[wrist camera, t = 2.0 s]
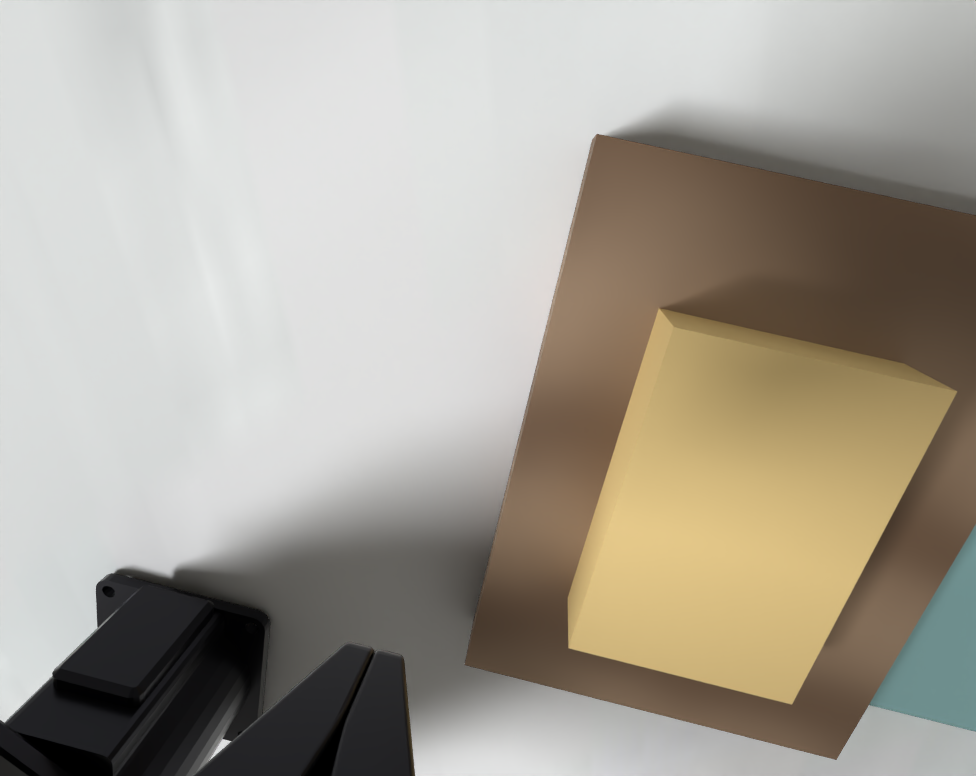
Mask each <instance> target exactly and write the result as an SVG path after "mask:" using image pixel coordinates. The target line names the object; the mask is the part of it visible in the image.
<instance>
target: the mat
mask: <svg viewBox="0 0 976 776" xmlns="http://www.w3.org/2000/svg"><path fill="white" fill-rule="evenodd" d="M869 705H872V706H876V707H880V708H884V709H888V710H892V711H896V712H900V713H904V714H908V715H912V716H916V717H920V718H924V719H928V720H932V721H936V722H939V723H943V724H947V725H951V726H955V727H959V728H963V729H967V730H971V731H975V732H976V525H975V526H974V528H973V530H972V531H971V533H970V535H969V537H968V538H967V540H966V542H965V543H964V545H963V547H962V548H961V550H960V552H959V553H958V555H957V557H956V558H955V560H954V562H953V564H952V565H951V567H950V569H949V570H948V572H947V574H946V575H945V577H944V579H943V580H942V582H941V584H940V585H939V587H938V589H937V591H936V592H935V594H934V596H933V597H932V599H931V601H930V602H929V604H928V606H927V607H926V609H925V611H924V612H923V614H922V616H921V618H920V619H919V621H918V623H917V624H916V626H915V628H914V629H913V631H912V633H911V634H910V636H909V638H908V639H907V641H906V643H905V645H904V646H903V648H902V650H901V651H900V653H899V655H898V656H897V658H896V660H895V661H894V663H893V665H892V666H891V668H890V670H889V672H888V673H887V675H886V677H885V678H884V680H883V682H882V683H881V685H880V687H879V688H878V690H877V692H876V693H875V695H874V697H873V699H872V700H871V702H870V704H869Z"/></svg>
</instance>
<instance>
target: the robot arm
mask: <svg viewBox="0 0 976 776" xmlns="http://www.w3.org/2000/svg"><path fill="white" fill-rule="evenodd" d="M96 602H97V625H98V628H97V629H96V630H95V631H94V632H93V633H92V634H91V635H90V636H89V637H88V638H87V639H86V640H85V641H84V642H82V643H81V644H80V645H79V646H78V647H77V648H76V649H75V650H74V651H73V652H72V653H71V654H70V655H69V656H68V657H67V658H66V659H65V660H64V661H63V662H62V663H61V664H60V665H59V666H58V667H56V668H55V670H54V671H53V673H52V674H53V676H52V677H51V678H50V679H49V680H48V681H47V682H46V683H45V684H44V685H43V686H42V687H41V688H40V689H39V690H38V691H37V692H36V693H34V694H33V695H32V696H31V697H30V698H29V699H28V700H27V701H26V702H25V703H24V704H23V705H22V706H21V707H20V708H19V709H18V710H17V711H16V712H15V713H14V714H13V715H12V716H11V717H10V718H9V719H8V720H7V721H6V722H5V723H4V722H2V721H1V720H0V776H415V770H414V759H413V749H412V738H411V728H410V717H409V707H408V696H407V686H406V675H405V665H404V659H403V656H402V655H400V654H396V653H392V652H388V651H385V650H377V651H376V652H375V653H374V650H373V648H372V647H369V646H365V645H361V644H357V643H353V642H348V643H345V644H344V645H343V646H341V647H340V648H339V649H338V650H337V651H336V652H334V653H333V654H332V655H331V656H330V657H329V658H328V659H326V660H325V661H324V662H323V663H322V664H321V665H319V666H318V667H317V668H316V669H315V670H314V671H312V672H311V673H310V674H309V675H308V676H307V677H306V678H304V679H303V680H302V681H301V682H300V683H299V684H297V685H296V686H295V687H294V688H293V689H292V690H291V691H289V692H288V693H287V694H286V695H285V696H284V697H282V698H281V699H280V700H279V701H278V702H277V703H276V704H274V705H273V706H272V707H271V708H270V709H269V710H267V711H266V712H265V713H264V714H263V715H262V710H263V699H264V688H265V677H266V666H267V655H268V644H269V632H270V619H269V618H268V616H267V615H266V614H265V613H263V612H261V611H259V610H256V609H252V608H248V607H244V606H240V605H236V604H232V603H228V602H224V601H221V600H217V599H213V598H209V597H205V596H201V595H197V594H193V593H189V592H185V591H181V590H177V589H173V588H170V587H166V586H162V585H158V584H154V583H150V582H146V581H142V580H138V579H134V578H130V577H126V576H123V575H119V574H112V573H111V574H108V575H106V576H105V577H104V578H103V579H102V580H101V581H100V582H99V583H98V584H97V585H96ZM253 623H254V624H256V625H257V626H256V625H254V624H253ZM222 739H225V740H229V741H232V742H230V743H229V744H228V745H227V746H226V747H225V748H224V749H222V750H221V751H220V752H219V753H218V754H217V755H215V756H214V757H213V758H212V759H211V760H210V758H211V757H212V755H213V753H214V752H215V750H216V748H217V747H218V745H219V743H220V742H221V740H222ZM209 760H210V761H209Z"/></svg>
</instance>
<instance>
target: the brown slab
mask: <svg viewBox="0 0 976 776" xmlns="http://www.w3.org/2000/svg"><path fill="white" fill-rule="evenodd" d="M659 308H661V309H665V310H670V311H674V312H678V313H683V314H687V315H692V316H696V317H701V318H705V319H709V320H714V321H718V322H723V323H727V324H731V325H736V326H740V327H745V328H749V329H753V330H758V331H762V332H767V333H771V334H776V335H780V336H784V337H789V338H793V339H798V340H802V341H806V342H811V343H815V344H820V345H824V346H829V347H833V348H837V349H842V350H846V351H851V352H855V353H859V354H864V355H868V356H873V357H877V358H882V359H886V360H890V361H895V362H899V363H904V364H906V365H908V366H910V367H912V368H913V369H915V370H917V371H919V372H921V373H923V374H925V375H927V376H929V377H931V378H932V379H934V380H936V381H938V382H940V383H942V384H944V385H946V386H948V387H950V388H952V389H953V390H955V391H957V393H956V395H955V397H954V399H953V401H952V403H951V405H950V407H949V408H948V410H947V412H946V414H945V416H944V418H943V420H942V422H941V424H940V426H939V427H938V429H937V431H936V433H935V435H934V437H933V439H932V441H931V443H930V444H929V446H928V448H927V450H926V452H925V454H924V456H923V458H922V460H921V461H920V463H919V465H918V467H917V469H916V471H915V473H914V475H913V477H912V478H911V480H910V482H909V484H908V486H907V488H906V490H905V492H904V494H903V495H902V497H901V499H900V501H899V503H898V505H897V507H896V509H895V511H894V513H893V514H892V516H891V518H890V520H889V522H888V524H887V526H886V528H885V530H884V531H883V533H882V535H881V537H880V539H879V541H878V543H877V545H876V547H875V548H874V550H873V552H872V554H871V556H870V558H869V560H868V562H867V564H866V565H865V567H864V569H863V571H862V573H861V575H860V577H859V579H858V581H857V582H856V584H855V586H854V588H853V590H852V592H851V594H850V596H849V598H848V600H847V601H846V603H845V605H844V607H843V609H842V611H841V613H840V615H839V617H838V618H837V620H836V622H835V624H834V626H833V628H832V630H831V632H830V634H829V635H828V637H827V639H826V641H825V643H824V645H823V647H822V649H821V651H820V652H819V654H818V656H817V658H816V660H815V662H814V664H813V666H812V668H811V669H810V671H809V673H808V675H807V677H806V679H805V681H804V683H803V685H802V687H801V688H800V690H799V692H798V694H797V696H796V698H795V700H794V702H793V704H788V703H784V702H780V701H776V700H772V699H768V698H764V697H760V696H756V695H752V694H748V693H744V692H740V691H736V690H732V689H728V688H724V687H720V686H716V685H712V684H708V683H704V682H701V681H697V680H693V679H689V678H685V677H681V676H677V675H673V674H669V673H665V672H661V671H657V670H653V669H649V668H645V667H641V666H637V665H633V664H629V663H625V662H621V661H617V660H613V659H609V658H605V657H601V656H597V655H593V654H589V653H586V652H582V651H578V650H574V649H570V648H568V595H569V592H570V589H571V586H572V582H573V579H574V576H575V573H576V570H577V567H578V563H579V560H580V557H581V554H582V551H583V547H584V544H585V541H586V538H587V535H588V532H589V528H590V525H591V522H592V519H593V516H594V513H595V509H596V506H597V503H598V500H599V497H600V493H601V490H602V487H603V484H604V481H605V478H606V474H607V471H608V468H609V465H610V462H611V459H612V455H613V452H614V449H615V446H616V443H617V439H618V436H619V433H620V430H621V427H622V424H623V420H624V417H625V414H626V411H627V408H628V405H629V401H630V398H631V395H632V392H633V389H634V385H635V382H636V379H637V376H638V373H639V370H640V366H641V363H642V360H643V357H644V354H645V351H646V347H647V344H648V341H649V338H650V335H651V331H652V328H653V325H654V322H655V319H656V316H657V312H658V309H659ZM975 525H976V215H971V214H967V213H962V212H957V211H953V210H948V209H943V208H939V207H934V206H929V205H925V204H920V203H915V202H911V201H906V200H902V199H897V198H892V197H888V196H883V195H878V194H874V193H869V192H864V191H860V190H855V189H850V188H846V187H841V186H836V185H832V184H827V183H823V182H818V181H813V180H809V179H804V178H799V177H795V176H790V175H785V174H781V173H776V172H771V171H767V170H762V169H757V168H753V167H748V166H744V165H739V164H734V163H730V162H725V161H720V160H716V159H711V158H706V157H702V156H697V155H692V154H688V153H683V152H678V151H674V150H669V149H664V148H660V147H655V146H651V145H646V144H641V143H637V142H632V141H627V140H623V139H618V138H613V137H609V136H604V135H599V134H596V136H595V137H594V138H593V140H592V143H591V147H590V151H589V155H588V159H587V163H586V168H585V172H584V176H583V180H582V184H581V188H580V192H579V196H578V200H577V204H576V208H575V212H574V216H573V220H572V224H571V228H570V232H569V236H568V240H567V244H566V248H565V252H564V256H563V261H562V265H561V269H560V273H559V277H558V281H557V285H556V289H555V293H554V297H553V301H552V305H551V309H550V313H549V317H548V321H547V325H546V329H545V333H544V337H543V341H542V345H541V349H540V353H539V358H538V362H537V366H536V370H535V374H534V378H533V382H532V386H531V390H530V394H529V398H528V402H527V406H526V410H525V414H524V418H523V422H522V426H521V430H520V434H519V438H518V442H517V446H516V450H515V455H514V459H513V463H512V467H511V471H510V475H509V479H508V483H507V487H506V491H505V495H504V499H503V503H502V507H501V511H500V515H499V519H498V523H497V527H496V531H495V535H494V539H493V543H492V547H491V552H490V556H489V560H488V564H487V568H486V572H485V576H484V580H483V584H482V588H481V592H480V596H479V600H478V604H477V608H476V612H475V616H474V620H473V625H472V630H471V635H470V640H469V645H468V650H467V655H466V660H465V665H467V666H471V667H475V668H479V669H483V670H486V671H490V672H494V673H498V674H502V675H506V676H510V677H514V678H518V679H522V680H526V681H530V682H534V683H537V684H541V685H545V686H549V687H553V688H557V689H561V690H565V691H569V692H573V693H577V694H581V695H584V696H588V697H592V698H596V699H600V700H604V701H608V702H612V703H616V704H620V705H624V706H628V707H631V708H635V709H639V710H643V711H647V712H651V713H655V714H659V715H663V716H667V717H671V718H675V719H678V720H682V721H686V722H690V723H694V724H698V725H702V726H706V727H710V728H714V729H718V730H722V731H725V732H729V733H733V734H737V735H741V736H745V737H749V738H753V739H757V740H761V741H765V742H769V743H772V744H776V745H780V746H784V747H788V748H792V749H796V750H800V751H804V752H808V753H812V754H816V755H819V756H823V757H827V758H831V759H835V760H836V759H837V758H838V756H839V754H840V753H841V751H842V749H843V747H844V746H845V744H846V742H847V741H848V739H849V737H850V736H851V734H852V732H853V731H854V729H855V727H856V726H857V724H858V722H859V720H860V719H861V717H862V715H863V714H864V712H865V710H866V709H867V707H868V705H869V704H870V702H871V700H872V699H873V697H874V695H875V693H876V692H877V690H878V688H879V687H880V685H881V683H882V682H883V680H884V678H885V677H886V675H887V673H888V672H889V670H890V668H891V666H892V665H893V663H894V661H895V660H896V658H897V656H898V655H899V653H900V651H901V650H902V648H903V646H904V645H905V643H906V641H907V639H908V638H909V636H910V634H911V633H912V631H913V629H914V628H915V626H916V624H917V623H918V621H919V619H920V618H921V616H922V614H923V612H924V611H925V609H926V607H927V606H928V604H929V602H930V601H931V599H932V597H933V596H934V594H935V592H936V591H937V589H938V587H939V585H940V584H941V582H942V580H943V579H944V577H945V575H946V574H947V572H948V570H949V569H950V567H951V565H952V564H953V562H954V560H955V558H956V557H957V555H958V553H959V552H960V550H961V548H962V547H963V545H964V543H965V542H966V540H967V538H968V537H969V535H970V533H971V531H972V530H973V528H974V526H975Z"/></svg>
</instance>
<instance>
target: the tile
mask: <svg viewBox="0 0 976 776" xmlns="http://www.w3.org/2000/svg"><path fill="white" fill-rule="evenodd" d="M956 393H957V391H955V390H953V389H952V388H950V387H948V386H946V385H944V384H942V383H940V382H938V381H936V380H934V379H932V378H931V377H929V376H927V375H925V374H923V373H921V372H919V371H917V370H915V369H913V368H912V367H910V366H908V365H906V364H904V363H899V362H895V361H890V360H886V359H882V358H877V357H873V356H868V355H864V354H859V353H855V352H851V351H846V350H842V349H837V348H833V347H829V346H824V345H820V344H815V343H811V342H806V341H802V340H798V339H793V338H789V337H784V336H780V335H776V334H771V333H767V332H762V331H758V330H753V329H749V328H745V327H740V326H736V325H731V324H727V323H723V322H718V321H714V320H709V319H705V318H701V317H696V316H692V315H687V314H683V313H678V312H674V311H670V310H665V309H661V308H659V309H658V312H657V316H656V319H655V322H654V325H653V328H652V331H651V335H650V338H649V341H648V344H647V347H646V351H645V354H644V357H643V360H642V363H641V366H640V370H639V373H638V376H637V379H636V382H635V385H634V389H633V392H632V395H631V398H630V401H629V405H628V408H627V411H626V414H625V417H624V420H623V424H622V427H621V430H620V433H619V436H618V439H617V443H616V446H615V449H614V452H613V455H612V459H611V462H610V465H609V468H608V471H607V474H606V478H605V481H604V484H603V487H602V490H601V493H600V497H599V500H598V503H597V506H596V509H595V513H594V516H593V519H592V522H591V525H590V528H589V532H588V535H587V538H586V541H585V544H584V547H583V551H582V554H581V557H580V560H579V563H578V567H577V570H576V573H575V576H574V579H573V582H572V586H571V589H570V592H569V595H568V648H570V649H574V650H578V651H582V652H586V653H589V654H593V655H597V656H601V657H605V658H609V659H613V660H617V661H621V662H625V663H629V664H633V665H637V666H641V667H645V668H649V669H653V670H657V671H661V672H665V673H669V674H673V675H677V676H681V677H685V678H689V679H693V680H697V681H701V682H704V683H708V684H712V685H716V686H720V687H724V688H728V689H732V690H736V691H740V692H744V693H748V694H752V695H756V696H760V697H764V698H768V699H772V700H776V701H780V702H784V703H788V704H793V702H794V700H795V698H796V696H797V694H798V692H799V690H800V688H801V687H802V685H803V683H804V681H805V679H806V677H807V675H808V673H809V671H810V669H811V668H812V666H813V664H814V662H815V660H816V658H817V656H818V654H819V652H820V651H821V649H822V647H823V645H824V643H825V641H826V639H827V637H828V635H829V634H830V632H831V630H832V628H833V626H834V624H835V622H836V620H837V618H838V617H839V615H840V613H841V611H842V609H843V607H844V605H845V603H846V601H847V600H848V598H849V596H850V594H851V592H852V590H853V588H854V586H855V584H856V582H857V581H858V579H859V577H860V575H861V573H862V571H863V569H864V567H865V565H866V564H867V562H868V560H869V558H870V556H871V554H872V552H873V550H874V548H875V547H876V545H877V543H878V541H879V539H880V537H881V535H882V533H883V531H884V530H885V528H886V526H887V524H888V522H889V520H890V518H891V516H892V514H893V513H894V511H895V509H896V507H897V505H898V503H899V501H900V499H901V497H902V495H903V494H904V492H905V490H906V488H907V486H908V484H909V482H910V480H911V478H912V477H913V475H914V473H915V471H916V469H917V467H918V465H919V463H920V461H921V460H922V458H923V456H924V454H925V452H926V450H927V448H928V446H929V444H930V443H931V441H932V439H933V437H934V435H935V433H936V431H937V429H938V427H939V426H940V424H941V422H942V420H943V418H944V416H945V414H946V412H947V410H948V408H949V407H950V405H951V403H952V401H953V399H954V397H955V395H956Z"/></svg>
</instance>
